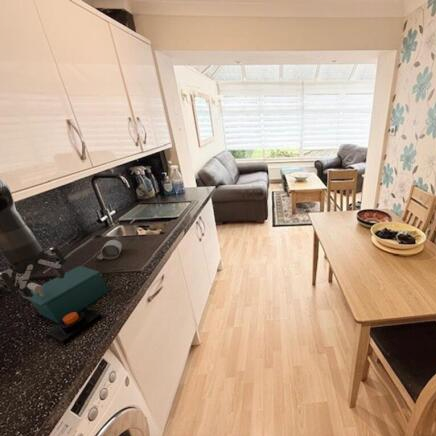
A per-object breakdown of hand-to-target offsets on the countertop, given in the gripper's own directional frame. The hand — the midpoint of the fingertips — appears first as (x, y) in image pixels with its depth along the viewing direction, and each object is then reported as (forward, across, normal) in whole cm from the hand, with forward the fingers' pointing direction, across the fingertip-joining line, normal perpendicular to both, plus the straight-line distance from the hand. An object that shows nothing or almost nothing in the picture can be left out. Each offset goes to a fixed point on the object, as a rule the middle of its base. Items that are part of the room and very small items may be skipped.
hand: (46, 286), depth 74 cm
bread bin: (+16, -8, -9) cm, 20 cm away
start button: (+13, +1, +3) cm, 14 cm away
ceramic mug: (+17, -36, -25) cm, 47 cm away
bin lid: (+7, -8, -9) cm, 14 cm away
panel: (+16, +1, +3) cm, 17 cm away
